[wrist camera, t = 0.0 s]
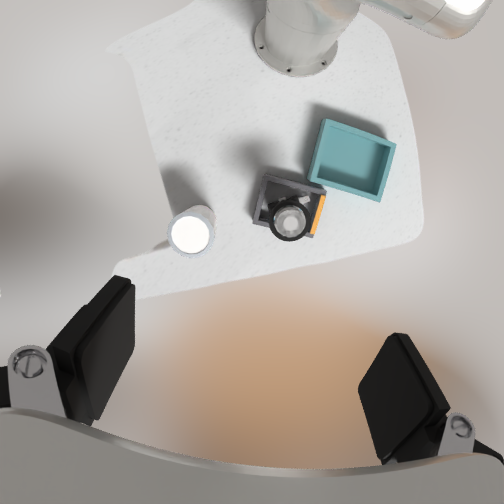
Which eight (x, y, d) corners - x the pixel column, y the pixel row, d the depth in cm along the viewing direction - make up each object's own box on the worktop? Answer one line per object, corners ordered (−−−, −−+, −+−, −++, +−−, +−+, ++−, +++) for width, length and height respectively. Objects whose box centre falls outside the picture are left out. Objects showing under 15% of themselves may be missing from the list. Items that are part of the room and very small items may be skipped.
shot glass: (188, 246, 48) (177, 263, 41) (173, 208, 46) (159, 220, 39) (226, 235, 47) (221, 251, 41) (212, 195, 45) (204, 205, 38)
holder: (264, 173, 43) (264, 175, 41) (324, 189, 44) (327, 191, 42) (252, 220, 46) (252, 224, 44) (310, 234, 47) (313, 238, 44)
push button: (302, 181, 43) (314, 192, 34) (313, 212, 45) (327, 232, 36) (262, 196, 45) (262, 211, 35) (274, 226, 46) (277, 249, 37)
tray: (322, 119, 40) (326, 118, 37) (388, 143, 40) (396, 144, 38) (306, 178, 43) (309, 181, 40) (373, 198, 44) (379, 202, 41)
